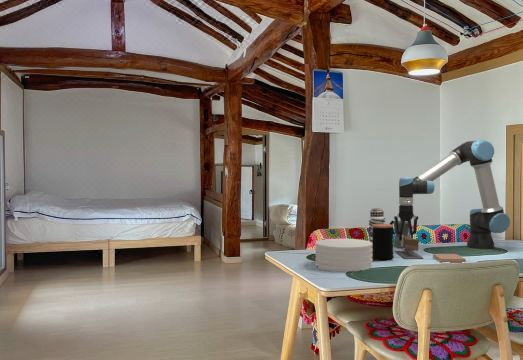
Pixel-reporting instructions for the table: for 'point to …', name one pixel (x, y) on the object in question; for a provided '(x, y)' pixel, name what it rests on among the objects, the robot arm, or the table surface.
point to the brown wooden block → (410, 243)
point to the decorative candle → (375, 220)
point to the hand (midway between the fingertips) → (406, 246)
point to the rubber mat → (409, 255)
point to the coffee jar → (382, 241)
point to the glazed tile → (449, 258)
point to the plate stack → (343, 254)
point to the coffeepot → (405, 231)
